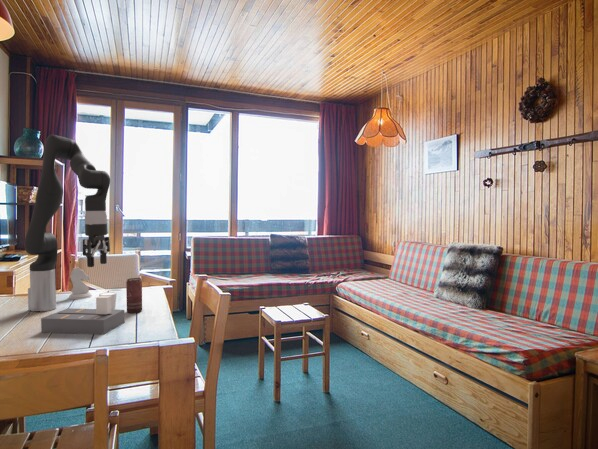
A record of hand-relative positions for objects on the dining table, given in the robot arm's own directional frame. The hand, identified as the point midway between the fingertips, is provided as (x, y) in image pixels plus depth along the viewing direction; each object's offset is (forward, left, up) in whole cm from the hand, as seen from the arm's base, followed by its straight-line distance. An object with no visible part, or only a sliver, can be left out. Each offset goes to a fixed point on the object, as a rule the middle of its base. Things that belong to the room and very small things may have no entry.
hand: (97, 265), depth 150 cm
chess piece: (-34, +41, -23) cm, 58 cm away
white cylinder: (-7, +19, -22) cm, 30 cm away
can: (+6, +17, -22) cm, 29 cm away
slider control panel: (-2, -6, -22) cm, 23 cm away
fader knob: (+6, -6, -19) cm, 20 cm away
